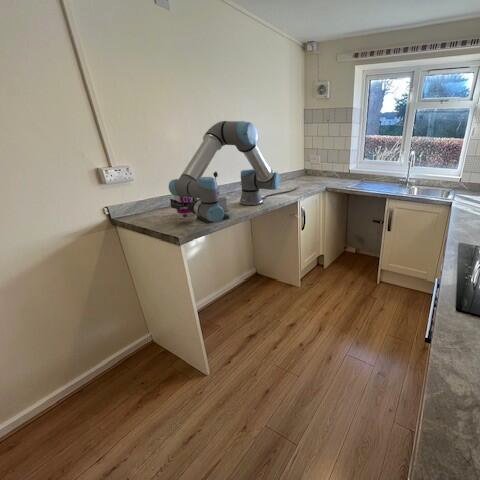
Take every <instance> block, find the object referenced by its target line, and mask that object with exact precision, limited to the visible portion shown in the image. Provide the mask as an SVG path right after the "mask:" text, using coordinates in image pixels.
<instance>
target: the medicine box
mask: <svg viewBox="0 0 480 480" xmlns="http://www.w3.org/2000/svg"><path fill="white" fill-rule="evenodd" d="M218 196H219V197H218V201H219V206H220V207H221V208H222V209H223V210H224V212H228V203H227V197H226V196H225V195H218Z"/></svg>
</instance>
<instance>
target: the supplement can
mask: <svg viewBox="0 0 480 480" xmlns="http://www.w3.org/2000/svg"><path fill="white" fill-rule="evenodd" d="M173 200H176V201H177V202H183V203H185V202H192V201H193V199H192V197H180V196H175V195H173ZM176 214H177V217H178V218H179V219H185V220H186V219H187V220H188V219H191V218H194V217H195V215H196V214H194V213H192V212H191V211H190V210H188V209H184V211H181V210H178V209H176Z"/></svg>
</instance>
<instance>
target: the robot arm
mask: <svg viewBox="0 0 480 480" xmlns="http://www.w3.org/2000/svg"><path fill="white" fill-rule="evenodd" d="M258 142H259V134H258V130H257V127H256V126H255V125H254V124H253V123H252V122H250V121H245V120H221V121H218V122H216V123H214V124H213V125H212V126H211V127H209V129H207V131H206V132H205V133H204V135H203V136H202V141H201V144H200V145H199V147H198V148H197V150H196V151H195V153H194V154H193V156H192V157H191V159H190V161H189V162H188V163H187V165H186V166H185V168H184V170H183V172H182V173H181V174H180V176H179V178H175V179H172V180H170V181H169V182H168V192H169V193H170V194H171V195H173V196H174V195H175V196H180V197H192V199H193V201H192V202H185V203H183V202H177V201H176V200H175V199H174V198H170V199H169V201H170V208H171V209H174V210H177V209H178V210H181V211H184V209H188V210H190V211H191V212H192V213H194V214H195V215H198V216H201V217H203V218H205V219H207V220H209V221H213V222H212V223H218V222H220V221H223V220H222V219H223V217H224V213H225V211H224V210H223V209H222V208H221V207H220V206H219V201H218V196H219V194H218V192H217V185H218V184H217V185H216V183H217V179H216V180H215V177H214V176H203V175H204V174H205V172H206V170H207V168H208V167H209V165H210V163H211V162H212V160H213V158H214V157H215V155H216V153H217V152H218V151H220V150H221V149H222V147H224V146H234V147H235V148H236V149H237V150H238V152H240V153H243V155H244V157H245V158H246V160H247V161H248V162H249V165H250V166H251V168H248V169H242V170H240V185H241V186H240V187H241V194H240V199H239V203H240V205H243V206H259V205H262V204H263V202H264V201H263V200H264V199H266V198H267V197H270V196H276V195H281V194H286V193H290V192H292V191H295V190H297V189H298V188H299V187H298V186H299V185H297V186H296V187H298V188H296V187H294V188H292V189H293V190H292V189H290V191H289V190H286V191H281V192H276V193H272V194H266V195H264V197H262V195H261V193H260V190H270V191H276V190H277V189H279V186H280V181H281V176H280V173H279V172H277V171H274V170H273V168H272V167H271V166H269V164H268V163H267V162H266V160H265V159H264V157H263V154H262V152H261V150H260V149H259V147H258Z"/></svg>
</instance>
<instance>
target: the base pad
mask: <svg viewBox="0 0 480 480" xmlns="http://www.w3.org/2000/svg"><path fill="white" fill-rule="evenodd" d="M195 215H196V214H195ZM196 219H198V220H199V221H203V222H205V223H207V224H210V223H214V222H213V221H209V220H207V219H205V218H203V217H201V216H198V215H196ZM227 219H230V215H229V214H228V213H225V212H224V217H223V219H222V220H221V221H223V220H227Z"/></svg>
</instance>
